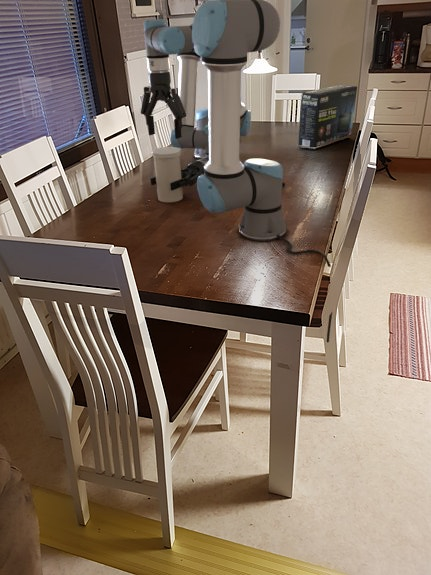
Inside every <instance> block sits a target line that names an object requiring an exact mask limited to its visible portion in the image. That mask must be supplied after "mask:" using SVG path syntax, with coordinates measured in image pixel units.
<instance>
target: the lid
mask: <svg viewBox="0 0 431 575" xmlns="http://www.w3.org/2000/svg"><path fill="white" fill-rule="evenodd" d="M181 155H182V148H177V147H173V146H161V147H156V148H153V149H152V150H151V156H152V157H153V158H154V157H155V158H161V159H166V158H174V157H178V156H180V157H181Z"/></svg>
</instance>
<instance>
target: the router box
mask: <svg viewBox="0 0 431 575" xmlns="http://www.w3.org/2000/svg"><path fill="white" fill-rule="evenodd" d="M357 93H358V86H356V85H350V84H339V85H338V84H337V85H334V86H328V87H324V88H318V89H314V90H309V91H304V92H301V93H300V109H299V110H300V111H299V124H298V137H297V146H298V145H302V146H307V147H317V146H320V145H323V144H325V143H328V142H331V141H333V140H336V139H338V138H341V137H344V136H347V135H351V136H352V133H353V132H352V131H353V125H354V115H355V109H356V99H357ZM311 151H313V150H312V149H311Z"/></svg>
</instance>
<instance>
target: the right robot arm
mask: <svg viewBox="0 0 431 575" xmlns="http://www.w3.org/2000/svg"><path fill="white" fill-rule="evenodd" d="M192 24H193V26H190V25H175V26H169V25H168V26H167V22H166V19H163V18H162V19H145V20H144V21H143V35H144V44H145V45H144V46H145V54H146V63H147V71H148V83H149V85H148V86H143V96H142V103H141V108H140V114H141V115H144V116H145V124H146V126H147V129H148V131H147V132H148V136H153V135H156V129H155V119H154V118H155V117H154V115H153V113H154V110H155V108H156V106H157V104H158V101H161V102H164V103H165V104H166V105H167V107H168V108H169V110H170V111H171V114H172V115H173V116H174V119H173V125H174V129H175V139H178V138H181V137H182V136H181V128H182V118H184V117H186V113H185V110H184V107H183V104H182V102H181V99H180V96H179V91H178V87H174V88H172V87H171V83H172V78H171V77H172V76H171V72H170V70H171V65H170V64H171V63H170V56H171V55H177V53H185V52H196V53H197V54H198V55H199V56H201V63H202V65H203V66H204V67H205V68H206V69H207V86H208V87H207V99H208V103H207V104H208V106H207V107H208V109H209V161H208V162H207V163H206V164H205V166H204V175H201V176H199V177H198V179H197V183H196V189H197V193H198V197H199V199H200V202H201V204H202V205H203V207H204V208H205V209H206V210H207V211H208V212H209V213H211V214H219V213H226V212H230V211H232V210H238V209H242V208H244V211H243V213H242V216H241V220H240V222H239V223H238V232H239V235H240V236H241V237H242V238H244V239H247V240H250V241H254V242H271V241H277V240H279V239H280V240H282V241H283V242H285V243H286V244H287V245H288V247H287V248H286V251H287V253H289V254H291V255H301V254H306V253H315V254H319V255H321V256H322V257H323V258H324V260H325V263H326V265H327V267H328V268H331V266H332V265H331V263H330V261H329V259H328V256H327V255H326V253H324V252H323V251H320V250H317V249H304V250H299V251H298V250H297V251H295V250H291V248H292V243H291V242H290V241H289V240H287V239H286V238H284V237H285V235H286V234H287V223H286V221H285V216H284V214H283V210H282V200H283V187H282V181H284V172H283V171H284V169H283V166H282V164H280V162H277V161H275V160H270V159H265V158H248V159H246V160H245V161H244V163H243V162H241V160H240V144H241V139H240V138H241V136H240V101H242V95H241V94H242V69H243V68H244V67H245V66H246V65H247V64H248V54H249V53H256V52H261V51H264V50H266V49H268V48H270V47H271V46H272V45H273V44H274V43H275V42H276V40H277V39H278V37H279V34H280V30H281V18H280V14H279V12H278V10H277V9H276V8H275V7H274V5H273V4H271V3H270V2H269V1H267V0H206V1H204V2H203V3H201V4H200V5H199V7H198V8H197V10H196V12H195V14H194V18H193V21H192ZM332 318H333V311H331V313H330V314H329V315H328V324H327V332H326V343H330V335H331V325H332V320H333V319H332Z"/></svg>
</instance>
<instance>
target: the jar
mask: <svg viewBox="0 0 431 575" xmlns="http://www.w3.org/2000/svg"><path fill="white" fill-rule="evenodd" d="M181 162H182V161H181V155H180V156H178V157H174V158H166V159H161V158H155V157H153V165H154V174H155V177H156V184H155V185H156V193H157V200H158V201H160V202H162V203H176V202H179V201H182V200H183V199H184V191H183V190H184V189H183V186H182V187H180V188H177V189H175V190H173V191H172V190H171V186H170V183H172V182H175V181H177V180H180V179H183V178H182V175H181V169H182V165H181V164H182V163H181Z"/></svg>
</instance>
